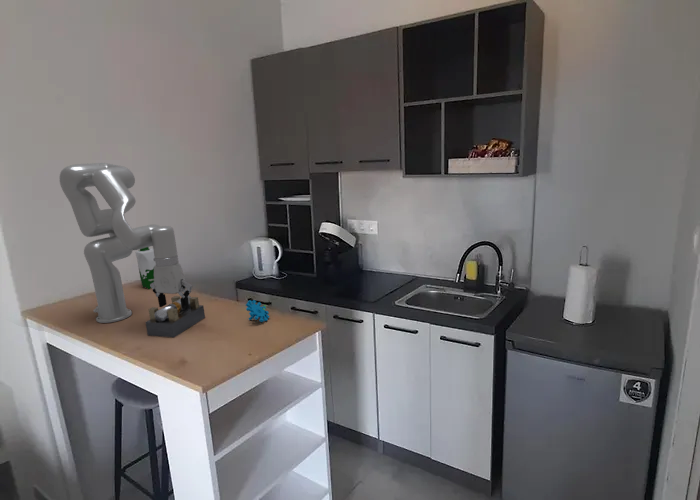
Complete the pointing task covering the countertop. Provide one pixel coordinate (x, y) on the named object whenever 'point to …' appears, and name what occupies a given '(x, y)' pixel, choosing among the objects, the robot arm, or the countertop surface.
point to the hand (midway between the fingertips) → (174, 306)
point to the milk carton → (146, 266)
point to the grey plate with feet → (175, 319)
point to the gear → (257, 311)
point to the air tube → (163, 313)
